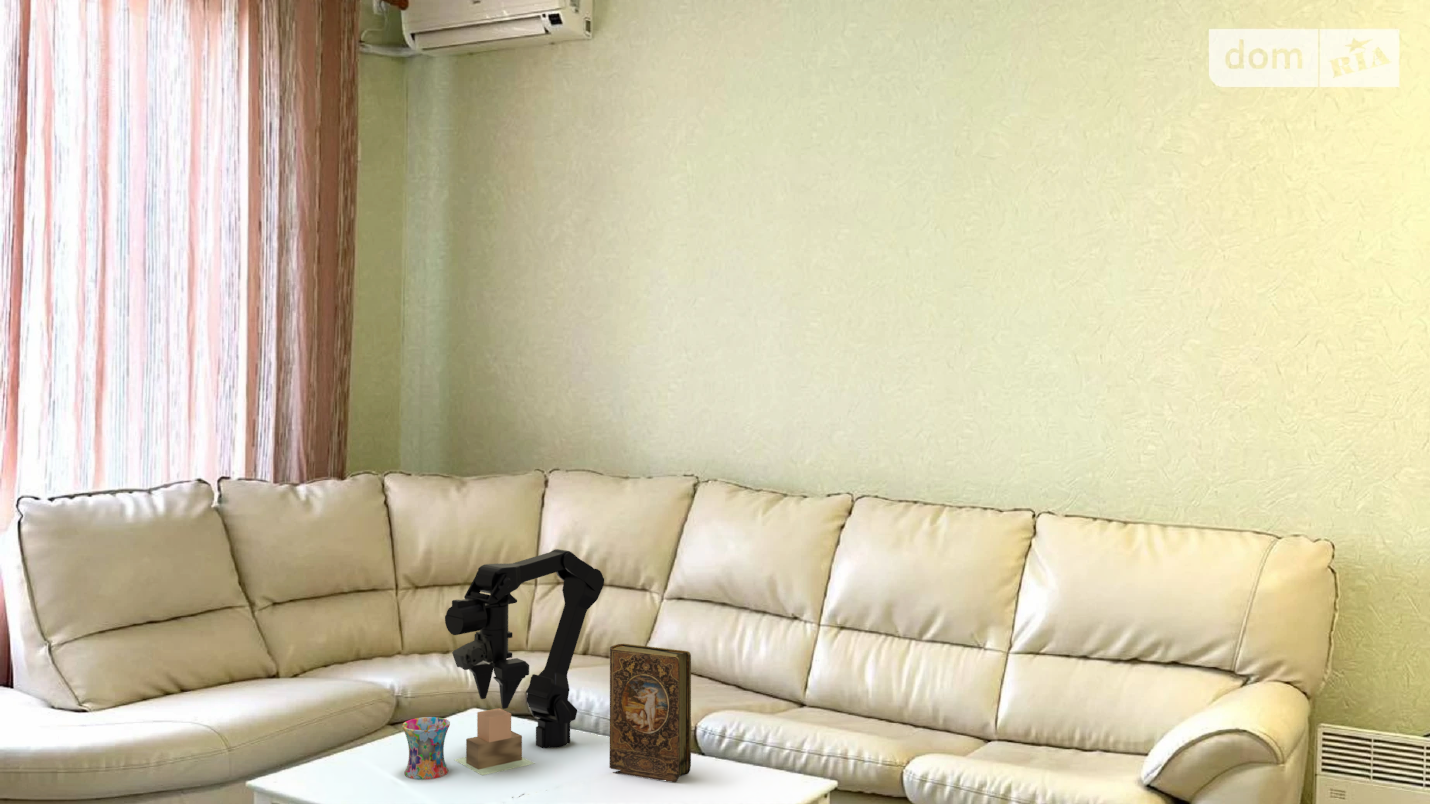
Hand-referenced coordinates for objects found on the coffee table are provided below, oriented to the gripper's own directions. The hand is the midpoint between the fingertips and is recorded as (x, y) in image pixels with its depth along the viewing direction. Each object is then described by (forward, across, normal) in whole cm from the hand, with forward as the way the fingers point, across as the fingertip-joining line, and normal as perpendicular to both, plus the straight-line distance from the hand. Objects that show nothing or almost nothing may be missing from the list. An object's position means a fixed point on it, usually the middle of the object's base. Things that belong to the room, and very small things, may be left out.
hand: (493, 703), depth 268 cm
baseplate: (+13, 0, 0) cm, 13 cm away
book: (+13, +23, +22) cm, 34 cm away
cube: (+7, 0, 0) cm, 7 cm away
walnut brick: (+12, 0, 0) cm, 12 cm away
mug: (+13, -3, -13) cm, 18 cm away
